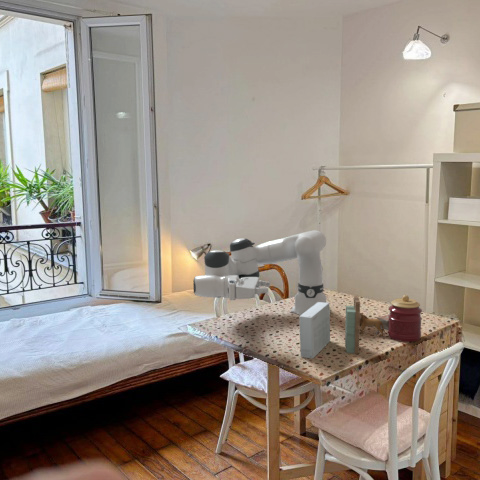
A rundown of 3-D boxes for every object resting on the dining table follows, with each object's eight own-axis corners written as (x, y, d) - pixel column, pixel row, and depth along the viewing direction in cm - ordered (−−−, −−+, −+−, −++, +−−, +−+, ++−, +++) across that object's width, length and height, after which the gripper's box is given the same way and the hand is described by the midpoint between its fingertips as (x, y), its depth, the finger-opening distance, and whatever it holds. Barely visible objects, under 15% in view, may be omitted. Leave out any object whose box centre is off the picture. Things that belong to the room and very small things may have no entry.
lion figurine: (351, 334, 211) (351, 313, 210) (352, 330, 216) (352, 309, 215) (387, 337, 207) (388, 316, 205) (388, 333, 212) (388, 312, 210)
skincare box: (317, 339, 206) (318, 301, 204) (330, 341, 204) (331, 302, 201) (298, 356, 188) (298, 315, 185) (312, 359, 185) (312, 317, 183)
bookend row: (345, 344, 199) (345, 295, 196) (356, 345, 199) (357, 295, 196) (346, 353, 190) (347, 301, 187) (358, 353, 190) (360, 302, 187)
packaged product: (391, 321, 214) (372, 316, 221) (390, 332, 214) (371, 326, 222) (416, 313, 224) (397, 308, 232) (416, 323, 225) (397, 318, 233)
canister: (390, 342, 202) (391, 299, 199) (385, 331, 214) (386, 290, 212) (424, 343, 200) (425, 299, 197) (417, 332, 212) (419, 291, 210)
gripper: (237, 287, 208) (271, 288, 206) (229, 301, 188) (267, 302, 186) (237, 272, 207) (271, 273, 205) (229, 284, 187) (266, 285, 185)
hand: (269, 287), depth 195 cm, fingers open, 8 cm apart
